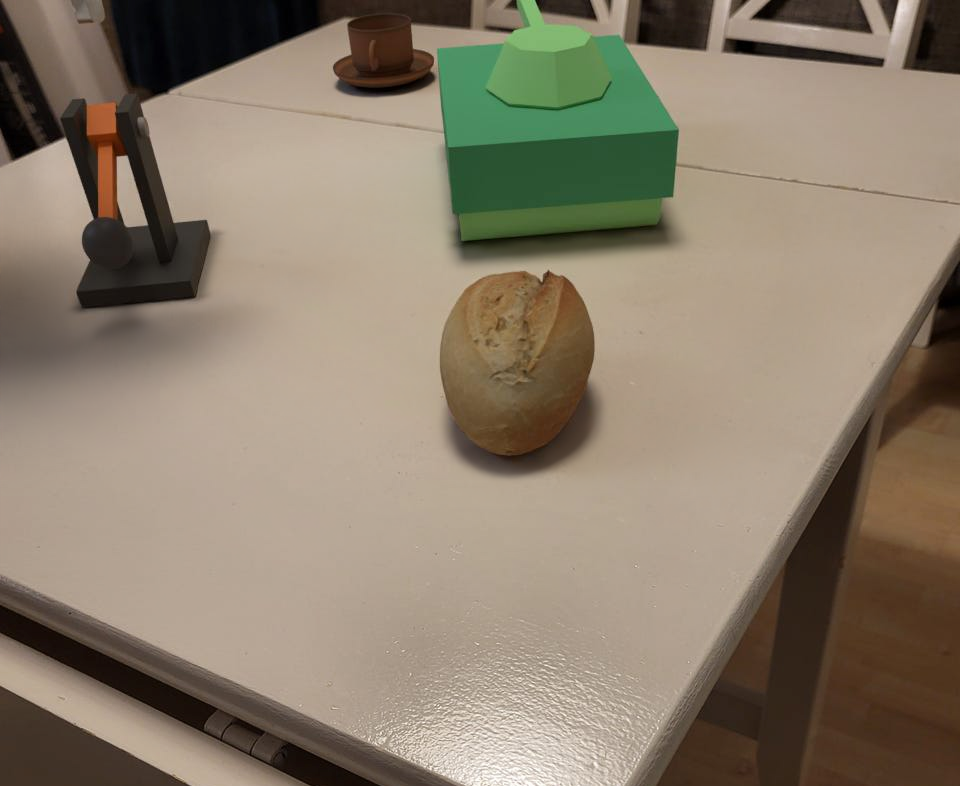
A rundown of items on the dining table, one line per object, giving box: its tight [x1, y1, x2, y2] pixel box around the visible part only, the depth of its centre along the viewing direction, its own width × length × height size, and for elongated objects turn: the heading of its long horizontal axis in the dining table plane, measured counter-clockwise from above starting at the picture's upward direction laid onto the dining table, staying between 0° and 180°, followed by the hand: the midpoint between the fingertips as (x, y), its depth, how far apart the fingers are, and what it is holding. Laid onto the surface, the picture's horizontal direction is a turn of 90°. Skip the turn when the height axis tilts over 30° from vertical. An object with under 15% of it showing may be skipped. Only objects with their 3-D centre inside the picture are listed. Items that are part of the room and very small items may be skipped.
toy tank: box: [436, 0, 680, 242], centre depth 88 cm, size 18×12×35 cm
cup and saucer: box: [332, 12, 435, 89], centre depth 114 cm, size 12×12×6 cm
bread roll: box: [439, 269, 596, 457], centre depth 61 cm, size 10×15×8 cm, turn 178°
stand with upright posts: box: [59, 93, 211, 308], centre depth 77 cm, size 12×9×13 cm
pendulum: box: [81, 102, 134, 269], centre depth 72 cm, size 13×4×4 cm
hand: (19, 26), depth 63 cm, fingers open, 8 cm apart
